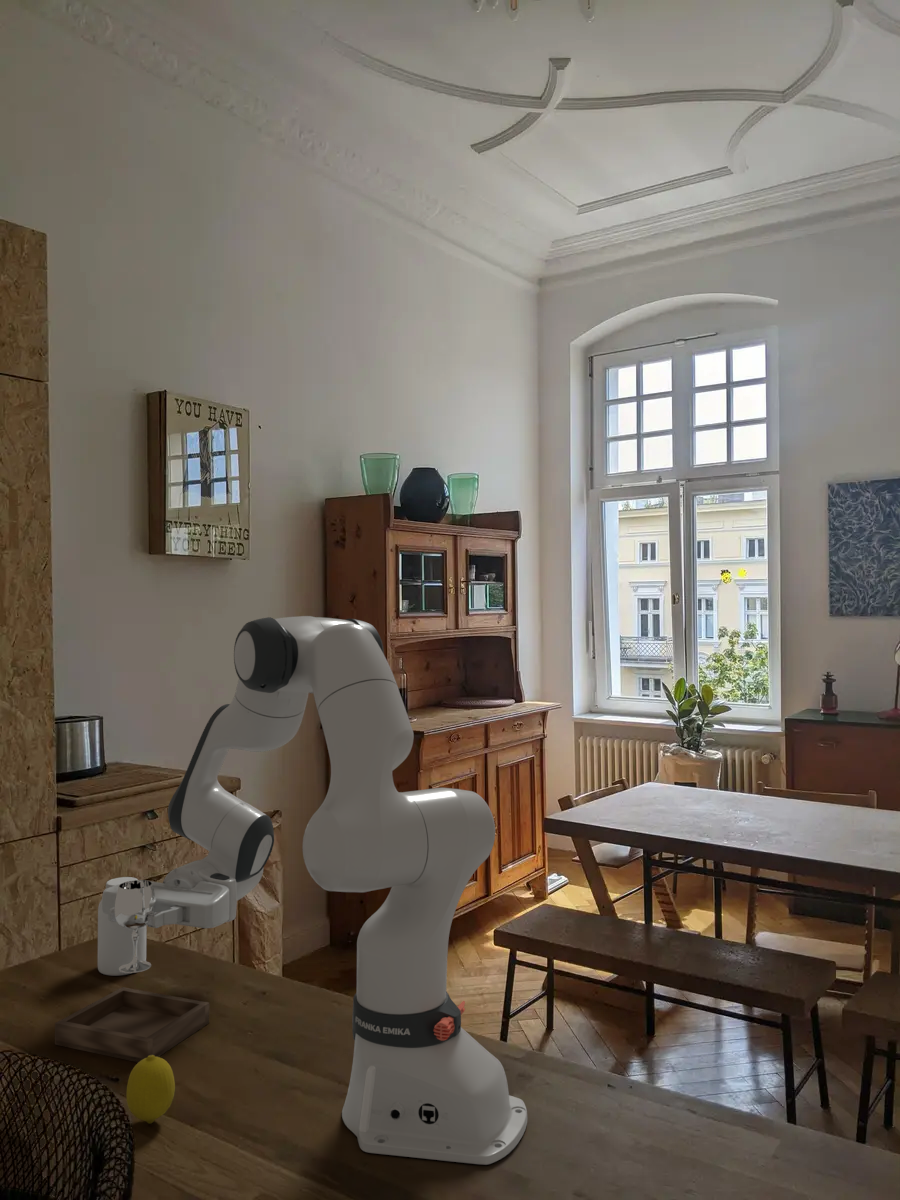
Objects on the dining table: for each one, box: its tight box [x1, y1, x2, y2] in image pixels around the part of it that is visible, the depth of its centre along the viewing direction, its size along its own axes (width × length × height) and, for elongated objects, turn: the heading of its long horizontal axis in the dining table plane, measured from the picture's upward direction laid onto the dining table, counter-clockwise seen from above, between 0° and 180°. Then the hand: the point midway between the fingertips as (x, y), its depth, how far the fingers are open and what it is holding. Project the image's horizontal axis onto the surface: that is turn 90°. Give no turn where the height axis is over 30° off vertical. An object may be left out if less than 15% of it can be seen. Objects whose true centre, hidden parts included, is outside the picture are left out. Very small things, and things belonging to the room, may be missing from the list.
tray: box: [54, 986, 210, 1063], centre depth 137 cm, size 16×14×3 cm
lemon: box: [125, 1055, 176, 1124], centre depth 113 cm, size 6×6×8 cm
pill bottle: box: [97, 876, 148, 977], centre depth 163 cm, size 8×8×15 cm
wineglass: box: [114, 879, 156, 974], centre depth 138 cm, size 6×6×12 cm
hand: (131, 919), depth 137 cm, fingers closed on wineglass, 6 cm apart
